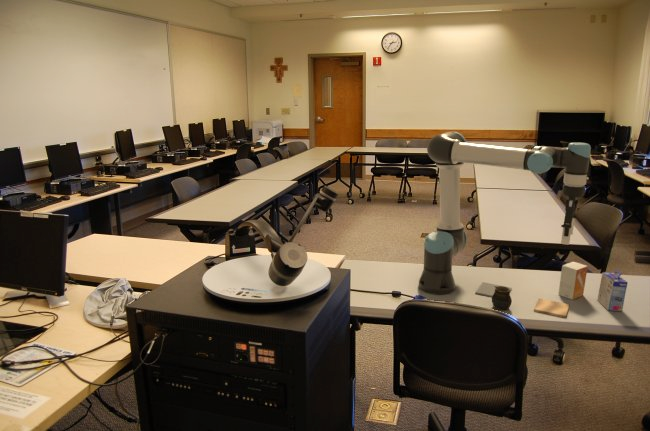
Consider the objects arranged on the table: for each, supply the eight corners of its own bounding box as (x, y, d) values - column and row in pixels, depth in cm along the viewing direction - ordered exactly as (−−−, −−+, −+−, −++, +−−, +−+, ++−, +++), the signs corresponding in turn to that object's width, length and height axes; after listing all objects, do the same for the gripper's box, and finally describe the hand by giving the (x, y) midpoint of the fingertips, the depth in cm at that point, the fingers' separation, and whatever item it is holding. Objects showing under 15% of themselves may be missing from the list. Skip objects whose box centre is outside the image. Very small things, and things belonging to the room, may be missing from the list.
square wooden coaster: (534, 310, 184) (534, 309, 184) (538, 300, 193) (538, 298, 193) (565, 317, 178) (565, 315, 178) (569, 306, 187) (569, 304, 187)
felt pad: (475, 293, 200) (475, 292, 200) (482, 283, 210) (482, 282, 209) (505, 299, 194) (505, 298, 193) (511, 289, 203) (511, 287, 203)
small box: (572, 300, 192) (576, 270, 189) (557, 294, 197) (561, 265, 194) (583, 295, 197) (588, 265, 193) (569, 290, 202) (572, 261, 198)
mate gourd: (515, 308, 186) (517, 284, 183) (502, 314, 182) (504, 290, 179) (499, 301, 192) (501, 278, 189) (486, 306, 188) (488, 283, 185)
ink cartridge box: (623, 311, 182) (629, 276, 178) (608, 311, 183) (613, 276, 179) (611, 300, 192) (616, 266, 188) (596, 299, 192) (601, 266, 189)
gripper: (583, 192, 167) (575, 250, 172) (587, 179, 187) (580, 231, 193) (559, 190, 170) (552, 246, 176) (566, 178, 191) (559, 228, 197)
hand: (566, 238), depth 185 cm, fingers open, 13 cm apart
